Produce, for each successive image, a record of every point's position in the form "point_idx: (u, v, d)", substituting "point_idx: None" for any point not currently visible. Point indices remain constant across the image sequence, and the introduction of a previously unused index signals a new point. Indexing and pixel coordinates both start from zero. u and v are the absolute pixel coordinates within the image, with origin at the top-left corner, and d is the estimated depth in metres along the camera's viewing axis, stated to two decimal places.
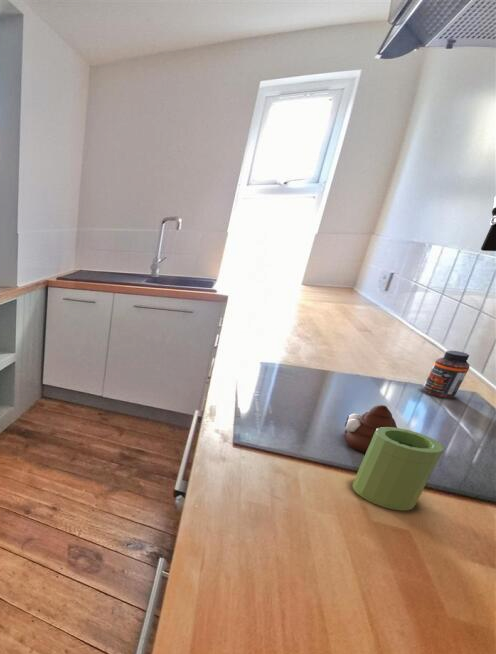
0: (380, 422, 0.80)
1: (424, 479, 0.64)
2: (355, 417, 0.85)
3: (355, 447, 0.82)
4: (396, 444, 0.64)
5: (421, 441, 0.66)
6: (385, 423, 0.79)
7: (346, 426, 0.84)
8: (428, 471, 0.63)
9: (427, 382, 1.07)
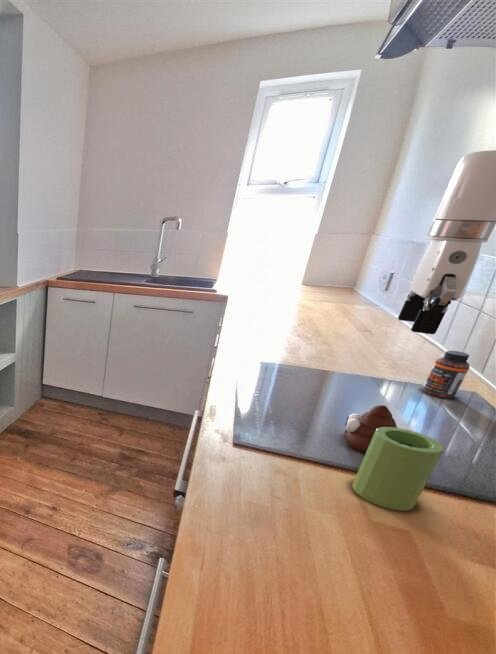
0: (380, 422, 0.80)
1: (424, 479, 0.64)
2: (355, 417, 0.85)
3: (355, 447, 0.82)
4: (396, 444, 0.64)
5: (421, 441, 0.66)
6: (385, 423, 0.79)
7: (346, 426, 0.84)
8: (428, 471, 0.63)
9: (427, 382, 1.07)
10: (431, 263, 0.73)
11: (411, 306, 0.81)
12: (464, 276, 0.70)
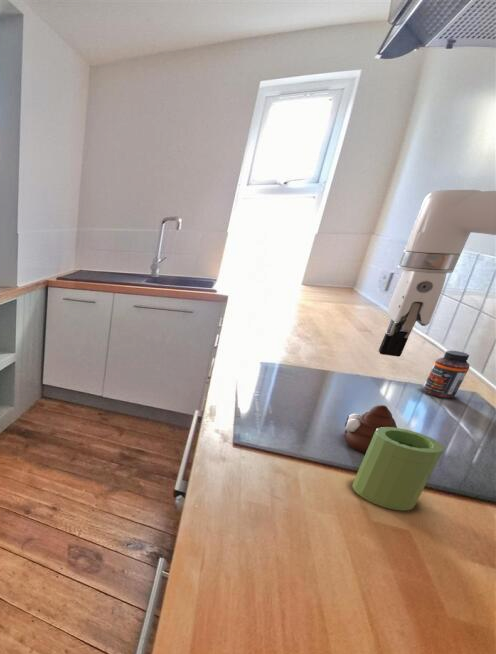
0: (380, 422, 0.80)
1: (424, 479, 0.64)
2: (355, 417, 0.85)
3: (355, 447, 0.82)
4: (396, 444, 0.64)
5: (421, 441, 0.66)
6: (385, 423, 0.79)
7: (346, 426, 0.84)
8: (428, 471, 0.63)
9: (427, 382, 1.07)
10: (402, 291, 0.79)
11: None
12: (431, 304, 0.75)
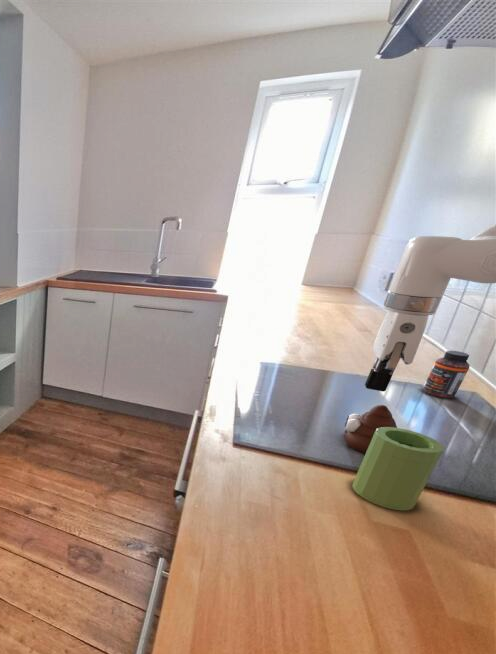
0: (380, 422, 0.80)
1: (424, 479, 0.64)
2: (355, 417, 0.85)
3: (355, 447, 0.82)
4: (396, 444, 0.64)
5: (421, 441, 0.66)
6: (385, 423, 0.79)
7: (346, 426, 0.84)
8: (428, 471, 0.63)
9: (427, 382, 1.07)
10: (386, 330, 0.82)
11: None
12: (414, 344, 0.78)
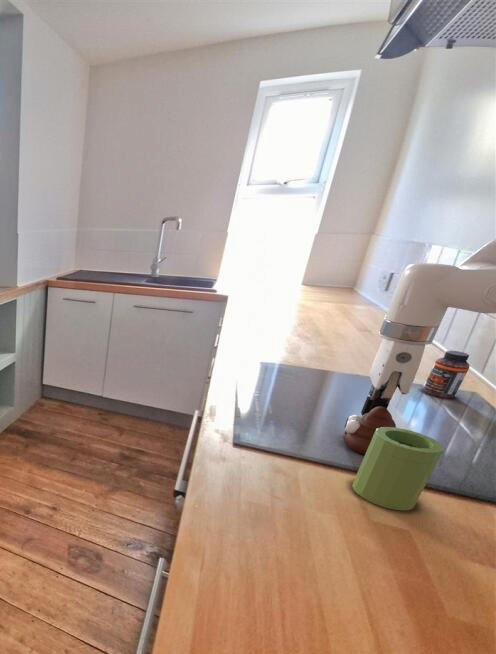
0: (380, 424, 0.79)
1: (424, 479, 0.64)
2: (355, 418, 0.84)
3: (355, 449, 0.81)
4: (396, 444, 0.64)
5: (421, 441, 0.66)
6: (385, 425, 0.79)
7: (346, 427, 0.83)
8: (428, 471, 0.63)
9: (427, 382, 1.07)
10: (382, 359, 0.79)
11: None
12: (410, 374, 0.76)
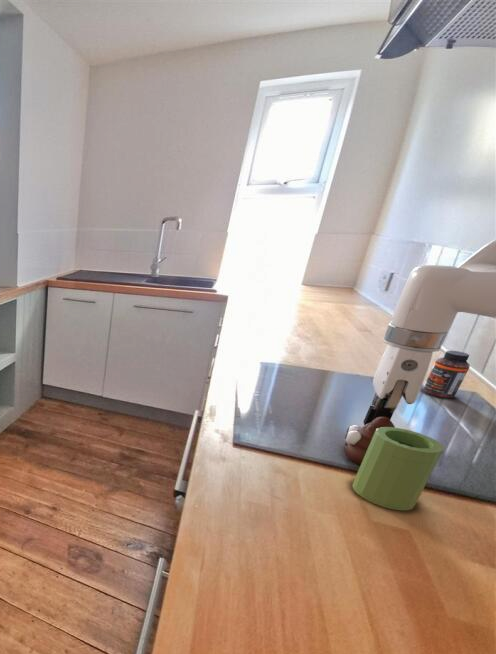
0: None
1: (424, 479, 0.64)
2: (356, 429, 0.80)
3: (356, 461, 0.77)
4: (396, 444, 0.64)
5: (421, 441, 0.66)
6: None
7: (346, 438, 0.79)
8: (428, 471, 0.63)
9: (427, 382, 1.07)
10: (386, 366, 0.75)
11: None
12: (416, 383, 0.72)
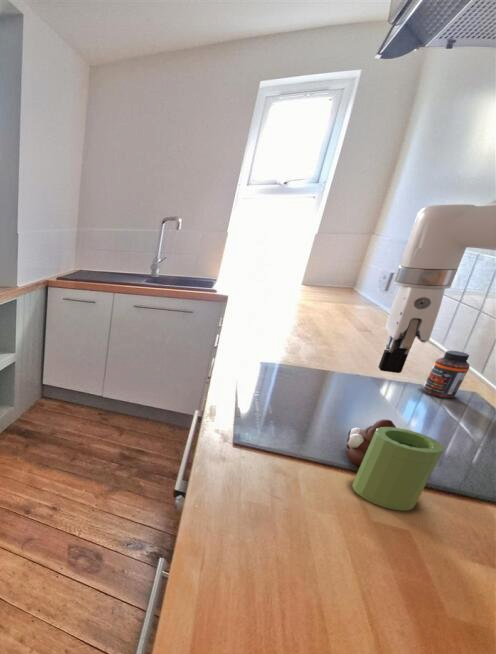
0: None
1: (424, 479, 0.64)
2: (358, 432, 0.79)
3: (359, 464, 0.76)
4: (396, 444, 0.64)
5: (421, 441, 0.66)
6: None
7: (349, 442, 0.78)
8: (428, 471, 0.63)
9: (427, 382, 1.07)
10: (399, 307, 0.77)
11: None
12: (430, 320, 0.74)
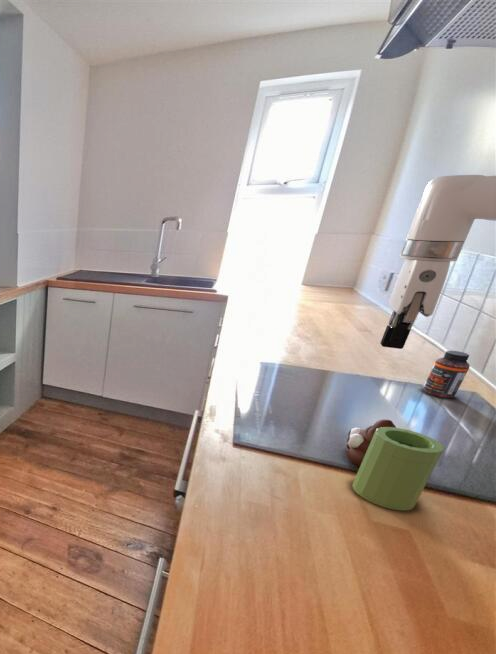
0: None
1: (424, 479, 0.64)
2: (358, 432, 0.79)
3: (359, 464, 0.76)
4: (396, 444, 0.64)
5: (421, 441, 0.66)
6: None
7: (349, 442, 0.78)
8: (428, 471, 0.63)
9: (427, 382, 1.07)
10: (404, 281, 0.76)
11: None
12: (434, 294, 0.73)
